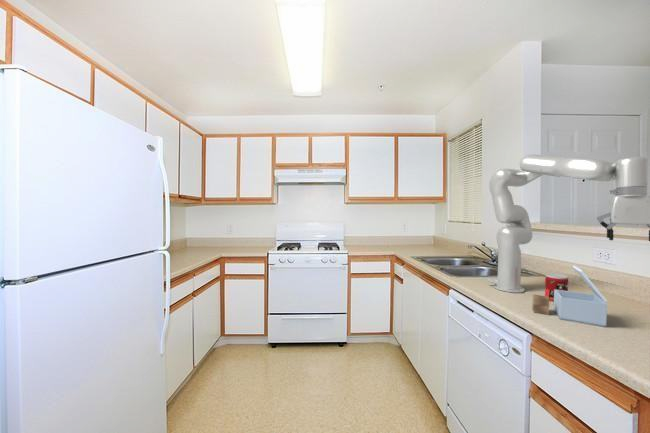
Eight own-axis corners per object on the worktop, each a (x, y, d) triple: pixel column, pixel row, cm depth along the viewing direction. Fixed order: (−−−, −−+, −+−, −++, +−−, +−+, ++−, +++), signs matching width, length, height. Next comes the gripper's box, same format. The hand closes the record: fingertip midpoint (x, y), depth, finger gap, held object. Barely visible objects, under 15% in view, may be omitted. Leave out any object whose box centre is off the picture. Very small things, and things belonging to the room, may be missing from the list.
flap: (579, 271, 96) (582, 270, 95) (571, 266, 105) (574, 265, 105) (604, 302, 92) (607, 301, 92) (594, 293, 102) (596, 292, 102)
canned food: (549, 301, 117) (550, 276, 117) (541, 296, 125) (542, 272, 124) (571, 304, 115) (572, 278, 114) (562, 298, 122) (563, 274, 122)
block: (533, 312, 104) (534, 297, 104) (532, 309, 108) (532, 294, 108) (548, 315, 102) (549, 299, 102) (546, 311, 106) (547, 296, 106)
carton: (559, 319, 98) (560, 297, 98) (553, 309, 109) (554, 289, 108) (606, 327, 92) (607, 303, 92) (594, 315, 102) (595, 294, 102)
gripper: (597, 193, 99) (597, 240, 99) (673, 190, 88) (673, 243, 88) (595, 194, 105) (595, 238, 105) (665, 192, 94) (665, 241, 94)
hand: (630, 240), depth 96 cm, fingers open, 9 cm apart
